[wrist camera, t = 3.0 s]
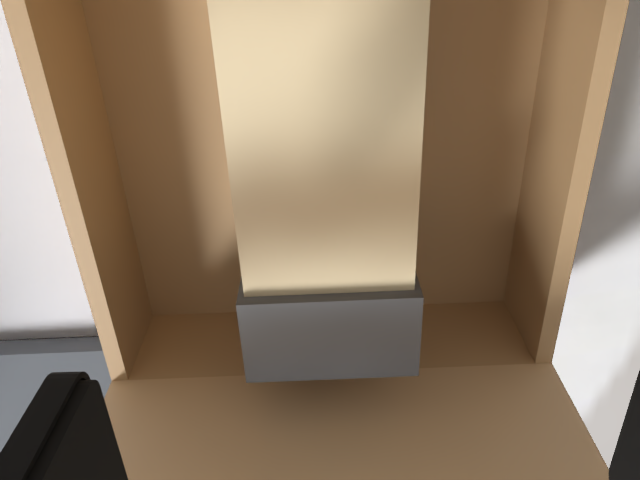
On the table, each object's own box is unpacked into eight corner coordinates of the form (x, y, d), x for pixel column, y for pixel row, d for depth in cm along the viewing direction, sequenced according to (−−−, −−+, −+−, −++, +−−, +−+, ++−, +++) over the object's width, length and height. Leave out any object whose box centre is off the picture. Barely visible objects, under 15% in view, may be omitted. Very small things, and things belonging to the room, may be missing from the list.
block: (226, -58, 18) (188, -43, 12) (402, -66, 18) (446, -54, 12) (260, 271, 24) (246, 383, 18) (392, 266, 24) (418, 376, 18)
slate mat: (-72, 343, 26) (-85, 358, 25) (150, 334, 26) (145, 349, 25) (15, 523, 32) (7, 540, 31) (193, 516, 32) (190, 532, 31)
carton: (33, -151, 17) (-291, -224, 8) (587, -175, 17) (919, -276, 8) (144, 318, 25) (53, 546, 16) (511, 303, 25) (625, 524, 16)
